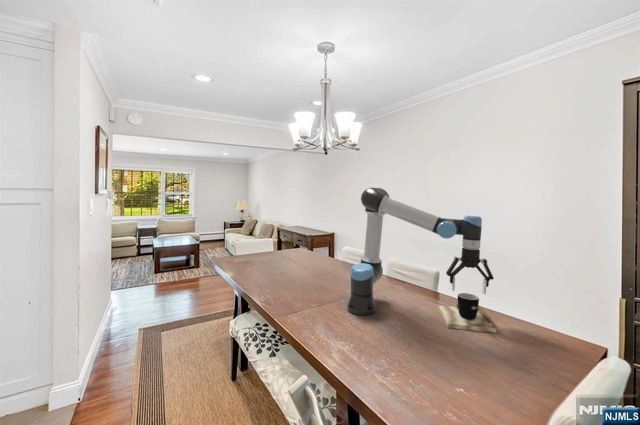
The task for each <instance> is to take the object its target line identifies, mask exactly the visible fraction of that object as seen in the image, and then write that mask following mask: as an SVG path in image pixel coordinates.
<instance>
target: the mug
mask: <svg viewBox="0 0 640 425" xmlns="http://www.w3.org/2000/svg"><path fill="white" fill-rule="evenodd" d="M479 302H480V297H478V295H475V294H473V293H469V292H460V293H458V294H457V304H458V310H459V314H460V316H461V317H462V318H465V319H469V320H472V319H475V318H476V315H477V311H478V306H479V305H480V304H479Z"/></svg>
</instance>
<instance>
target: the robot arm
mask: <svg viewBox="0 0 640 425" xmlns="http://www.w3.org/2000/svg"><path fill="white" fill-rule="evenodd" d="M360 201H361V204H362V206H363V207H364V208H365V210H364V211H365V213H366V216H367V218H366V227H365V228H366V230H365V241H364V242H365V243H364V252H363V253H364V254H363V256H362V257H361V258H360V263H356V264H353V265H351V268H350V273H349V274H350V295H349V299H348V301H347V306H346V308H347V311H348V312H349V313H351V314H354V315H357V316H371V315H373V314H375V313H376V312H377V305H376V302H375V298H374V284H375V283H376V282H378V281H379V280H380V279H381V277H382V276H383V271H384V269H383V266H382V261H383V260H382V259H381V258H380V254H381V252H380V251H381V244H382V231H383V221H384V215H385V214H387V215H389V216H392V217H394V218H396V219H400V220H402V221H404V222H407V223H408V224H412V225H415V226H417V227H419V228H421V229H424V230H426V231H429V232H432V233H434V234H436V235H438V236H440V237H441V238H442V239H446V240H448V239H451V238H453V237H454V236H455V235H457V236H462V242H461V243H462V245H461V247H462V248H461V256H460V257H458V256H454V258H453V260H452V262H451V264H450V265H449V268H447V270H446V273H445V274H446V276H448V277H449V283H450V284H451V291H452V292H455V288H456V287H455V286H456V277H455V276H456V275H457V274H459V273H460V272H461V271H462V270H463V269H465V268H471V269H475V268H476V269H477V271H478V272H479V273H480V274H481V276H482V277H483V278H482V285H481V287H482V288H481V293H482V294H483V295H486V294H487V288H488V287H489V286H490V285H489V283H490V280H494V279H495V278H494V275H493V274H492V272H491V270H490V269H491V268H489V265H488V260H487V259H486V258H482V259H481V257H480V256H481V254H480V253H481V250H480V248H481V242H482V241H481V240H482V226H483V222H482V217H481V216H478V215H464V216H463V218H462V219H458V218H457V219H456V218H442V217H440V216H437V215H434V214H432V213H429V212H427V211H424V210H421V209H419V208H416V207H413V206H411V205H408V204H405V203H402V202H400V201H398V200H395V199H392V198H390V195H389V193H388V192H387V190H385V189H383V188H381V187H368V188H366V189H364V190H363V191H362V193H361V196H360ZM460 261H461V263H460V264H459V265H458V266H457V264H458V263H459V262H460ZM480 263H481V264H482V265H483V267H484V269H485V271H486V273H485V272H484V270H482V268H481V267H480V266H479V264H480ZM456 266H457V267H456Z"/></svg>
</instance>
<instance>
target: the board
mask: <svg viewBox="0 0 640 425" xmlns="http://www.w3.org/2000/svg"><path fill="white" fill-rule="evenodd" d="M438 311H439V313H440V315H441V317H442V319H443V321H444V324H445V325H446V328H448V329H457V330H465V331H476V332H485V333H492V334H497V326H498V325H497V324H496V323H495V321H494V320H493V319H492V318H491V317H490V315H488V313H487V312H486V311H485V310H484V309H483V308H482V306H479V305H478V311H477V315H476V318H475V319H472V320H469V319H465V318H462V317H461V316H460V314H459V310H458V303H457V304H456V305H455V306H447V305H438Z"/></svg>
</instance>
